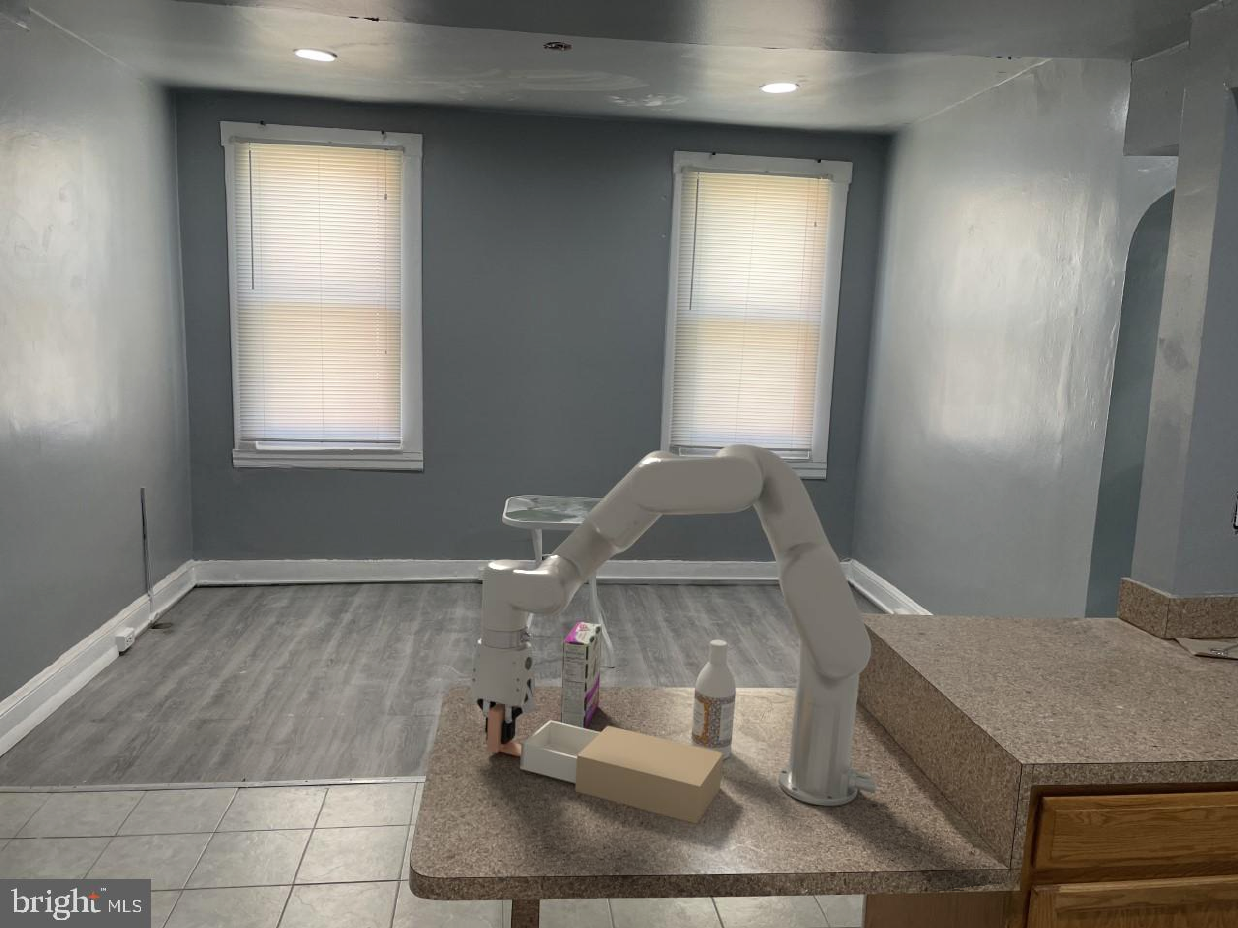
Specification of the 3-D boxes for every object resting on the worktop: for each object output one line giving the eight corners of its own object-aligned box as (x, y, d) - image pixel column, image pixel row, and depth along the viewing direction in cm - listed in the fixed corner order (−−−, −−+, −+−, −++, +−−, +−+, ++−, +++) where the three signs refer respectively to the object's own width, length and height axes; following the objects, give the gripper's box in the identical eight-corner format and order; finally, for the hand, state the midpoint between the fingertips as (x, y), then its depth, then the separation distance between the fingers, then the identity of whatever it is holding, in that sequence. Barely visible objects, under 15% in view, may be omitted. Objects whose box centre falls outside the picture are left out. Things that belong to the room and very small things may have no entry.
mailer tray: (655, 769, 152) (658, 728, 151) (632, 798, 143) (635, 754, 142) (509, 733, 162) (510, 694, 161) (478, 757, 153) (480, 716, 152)
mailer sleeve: (720, 787, 149) (723, 752, 148) (697, 823, 138) (700, 786, 137) (605, 759, 156) (607, 725, 155) (575, 791, 145) (577, 755, 144)
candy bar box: (573, 702, 178) (577, 620, 176) (599, 706, 177) (603, 623, 175) (558, 727, 167) (562, 640, 165) (585, 730, 166) (589, 643, 164)
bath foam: (683, 746, 163) (691, 637, 159) (718, 741, 165) (726, 633, 162) (702, 764, 156) (710, 651, 153) (738, 759, 159) (747, 647, 156)
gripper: (557, 637, 154) (552, 741, 157) (474, 620, 160) (470, 720, 163) (536, 651, 148) (531, 759, 151) (450, 633, 153) (447, 737, 156)
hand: (499, 738), depth 157 cm, fingers closed
